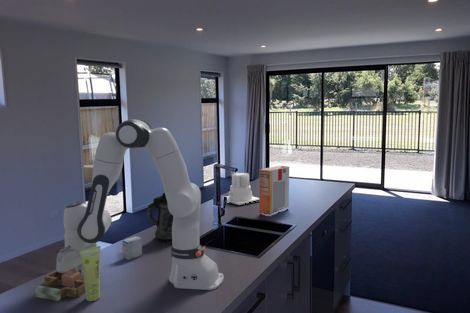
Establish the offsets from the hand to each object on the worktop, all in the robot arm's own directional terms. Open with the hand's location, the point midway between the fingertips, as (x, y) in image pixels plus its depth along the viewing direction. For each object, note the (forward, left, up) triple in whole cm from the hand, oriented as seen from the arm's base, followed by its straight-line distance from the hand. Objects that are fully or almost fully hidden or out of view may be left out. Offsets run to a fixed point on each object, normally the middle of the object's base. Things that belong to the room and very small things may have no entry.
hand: (78, 274), depth 159 cm
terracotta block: (0, +4, -2) cm, 5 cm away
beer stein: (-13, -55, -2) cm, 56 cm away
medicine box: (-8, -28, -2) cm, 29 cm away
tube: (-16, +12, -2) cm, 20 cm away
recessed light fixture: (-26, -147, -2) cm, 149 cm away
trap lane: (0, +6, -2) cm, 6 cm away
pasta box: (-56, -125, -2) cm, 137 cm away
